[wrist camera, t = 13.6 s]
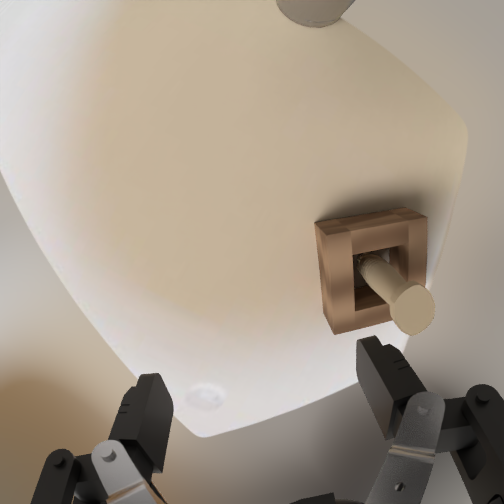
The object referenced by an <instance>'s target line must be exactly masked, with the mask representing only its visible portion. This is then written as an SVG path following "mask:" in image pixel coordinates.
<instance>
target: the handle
mask: <svg viewBox="0 0 504 504" xmlns="http://www.w3.org/2000/svg"><path fill="white" fill-rule="evenodd" d="M357 260H358V265H357V269H358V270H359V272H360V273H361V275H362V276H363V278H364V279H365V281H366V282H367V283H368V284H369V286H370V287H371V288H372V289H373V290H374V291H375V292H376V293H377V294H378V295H379V296H381V297H382V298H383V299H384V300H385V301H386V302H387V303H388V304H389V305H390V315H391V317H392V319H393V321H394V322H395V324H396V325H397V327H398V328H399V329H400V330H401V331H402V332H404V333H406V334H408V335H410V336H412V335H416V334H418V333H420V332H422V331H423V330H424V329H426V328H427V327H428V326H429V325H430V323H431V322H432V320H433V319H434V312H435V303H434V300H433V298H432V295H431V293H430V292H429V291H428V290H427V289H426V288H425V287H424V286H422V285H421V284H419V283H418V282H416V281H414V280H413V281H408V282H406V281H405V280H404V278H403V277H402V276H401V275H400V274H399V273H398V272H397V271H396V270H395V269H394V268H393V267H392V266H391V265H390V264H389V263H388V262H386V261H385V260H384V259H382V258H381V257H379V256H377V255H375V254H371V253H369V252H364V253H363V254H362V255H360V256H358V258H357Z"/></svg>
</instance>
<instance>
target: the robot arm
mask: <svg viewBox="0 0 504 504" xmlns="http://www.w3.org/2000/svg"><path fill="white" fill-rule="evenodd" d="M276 1H277V4H278V6H279V8H280V10H281V11H282V12H283V13H284V15H286V16H287V17H288V18H289V19H291V20H292V21H294V22H296V23H298V24H301V25H303V26H308V27H325V26H328V25H331V24H332V23H334V22H336V21H337V20H338V19H339V18H340V16H341V15H342V14H343V13H344V12H345V11H346V10H347V9H348V8H349V7H350V5H351V4H352V3H353V2H354V1H355V0H276ZM356 372H357V377H358V380H359V383H360V385H361V387H362V389H363V391H364V394H365V396H366V398H367V400H368V402H369V405H370V407H371V409H372V411H373V413H374V416H375V418H376V420H377V422H378V424H379V427H380V429H381V431H382V433H383V436H384V438H385V440H388V439H391V438H395V440H394V443H393V445H392V447H391V448H390V450H389V452H388V455H387V457H386V460H385V462H384V464H383V466H382V469H381V471H380V473H379V475H378V478H377V480H376V482H375V484H374V486H373V488H372V490H371V492H370V495H369V496H368V498H367V500H366V502H365V503H362V502H358V501H354V500H348V499H335V498H334V493H329V494H325V495H320V496H315V497H310V498H306V499H301V500H298V501H296V502H293V503H291V504H420V503H421V500H422V497H423V494H424V491H425V489H426V486H427V483H428V480H429V476H430V474H431V470H432V467H433V464H434V460H435V455H434V453H441V452H448V451H450V454H451V456H452V458H453V460H454V462H455V464H456V466H457V469H458V471H459V473H460V475H461V478H462V480H463V482H464V484H465V487H466V489H467V491H468V494H469V496H470V498H471V501H472V503H473V504H504V400H503V399H502V397H501V396H500V395H499V393H498V392H497V391H496V390H495V389H494V388H493V387H491V386H489V385H485V384H479V385H475V386H473V387H472V388H470V389H469V390H468V392H467V394H466V397H461V398H453V399H443V398H442V397H441V396H439V395H438V394H436V393H433V392H428V391H427V390H426V388H425V387H424V385H423V384H422V382H421V381H420V380H419V378H418V376H417V375H416V373H415V372H414V370H413V369H412V368H411V367H410V365H409V363H408V362H407V360H405V358H404V356H403V355H402V353H401V352H400V350H399V349H397V348H395V347H394V346H392V345H390V344H388V345H384V346H383V345H382V344H381V342H380V341H379V339H378V338H377V336H375V335H374V336H370V337H366V338H363V339H359V340H357V347H356ZM173 410H174V409H173V401H172V398H171V396H170V394H169V392H168V390H167V388H166V386H165V384H164V382H163V379H162V377H161V375H160V374H159V373H152V374H141V375H140V377H139V379H138V382H137V385H136V387H131V388H130V389H129V390H128V391H127V393H126V394H125V395H124V397H123V400H122V402H121V406H120V407H119V410H118V414H117V416H116V418H115V422H114V424H113V427H112V430H111V433H110V436H109V438H108V440H106V441H103V442H101V443H100V444H98V445H97V446H96V447H95V448H94V450H93V452H92V453H91V454H86V455H81V456H74V455H73V454H72V453H71V452H70V451H69V450H66V449H58V450H55V451H53V452H52V453H51V454H50V455H49V456H48V457H47V459H46V461H45V464H44V467H43V469H42V472H41V475H40V478H39V481H38V484H37V487H36V489H35V492H34V495H33V498H32V501H31V504H71V502H72V499H73V495H75V496H74V501H73V504H168V502H167V501H166V500H165V498H164V497H163V496H162V494H161V493H160V491H159V490H158V488H157V487H156V486H155V484H154V483H153V482H152V480H151V477H152V473H162V472H163V466H164V460H165V455H166V449H167V443H168V438H169V432H170V427H171V422H172V417H173Z"/></svg>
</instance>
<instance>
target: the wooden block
mask: <svg viewBox="0 0 504 504" xmlns="http://www.w3.org/2000/svg"><path fill="white" fill-rule="evenodd" d="M314 224H315V233H316V241H317V250H318V259H319V269H320V279H321V290H322V301H323V313H324V315H325V317H326V319H327V321H328V323H329V325H330V327H331V330H332V332H333V334H334V335H336V334H341V333H345V332H349V331H353V330H357V329H361V328H365V327H369V326H373V325H377V324H380V323H384V322H388V321H391V320H393V319H392V317H391V315H390V305H389V304H388V303H387V302H386V301H385V300H384V299H383V298H382V297H381V296H379V295H378V294H377V293H376V292H375V291H374V290H373V289H372V288H371V287H370V286H369V285H368V286H364V287H360V288H355V289H354V276H353V257H352V255H354V254H359V253H364V252H369V251H374V250H379V249H384V248H389V256H390V265H391V266H392V267H393V268H394V269H395V270H396V271H397V272H398V273H399V274H400V275H401V276H402V277H403V278H404V280H405V281H406V282H408V281H413V280H414V281H416V282H418V283H419V284H421V285H422V286H424V287H425V283H426V266H427V217H426V216H423V215H421V214H419V213H417V212H415V211H412V210H410V209H408V208H406V207H405V208H399V209H393V210H387V211H381V212H375V213H369V214H363V215H357V216H351V217H345V218H339V219H333V220H328V221H322V222H316V223H314Z"/></svg>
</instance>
